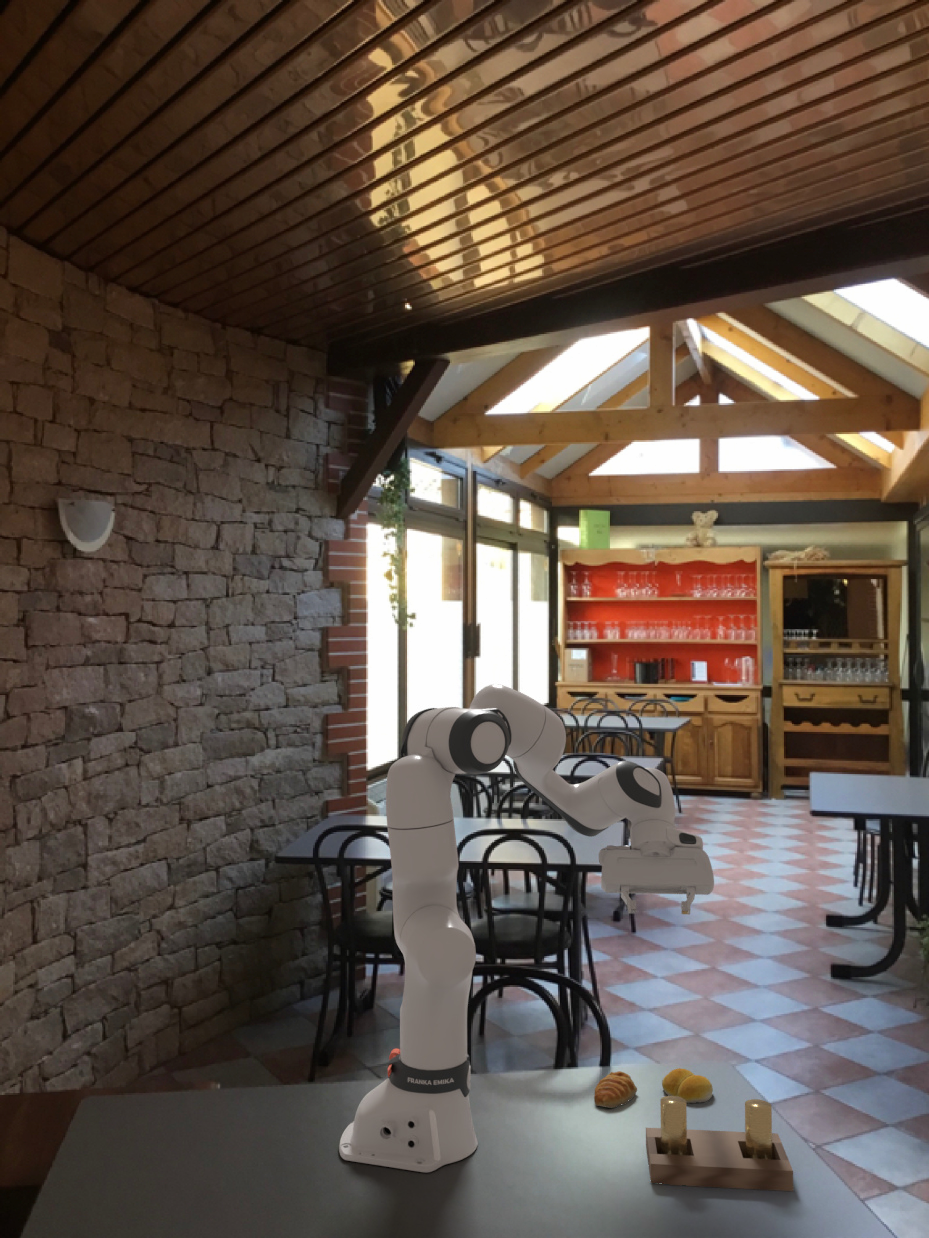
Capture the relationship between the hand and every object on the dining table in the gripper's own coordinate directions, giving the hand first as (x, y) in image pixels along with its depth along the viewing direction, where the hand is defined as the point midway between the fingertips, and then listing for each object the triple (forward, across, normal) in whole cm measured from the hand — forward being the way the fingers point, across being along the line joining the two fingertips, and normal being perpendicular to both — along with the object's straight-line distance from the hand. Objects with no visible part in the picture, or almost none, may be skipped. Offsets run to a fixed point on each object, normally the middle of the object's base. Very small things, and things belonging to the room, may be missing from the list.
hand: (659, 912), depth 184 cm
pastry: (+22, -8, +27) cm, 36 cm away
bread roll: (+20, +5, +30) cm, 36 cm away
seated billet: (+39, +13, +10) cm, 42 cm away
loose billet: (+39, 0, +10) cm, 40 cm away
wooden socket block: (+39, +7, +10) cm, 41 cm away
